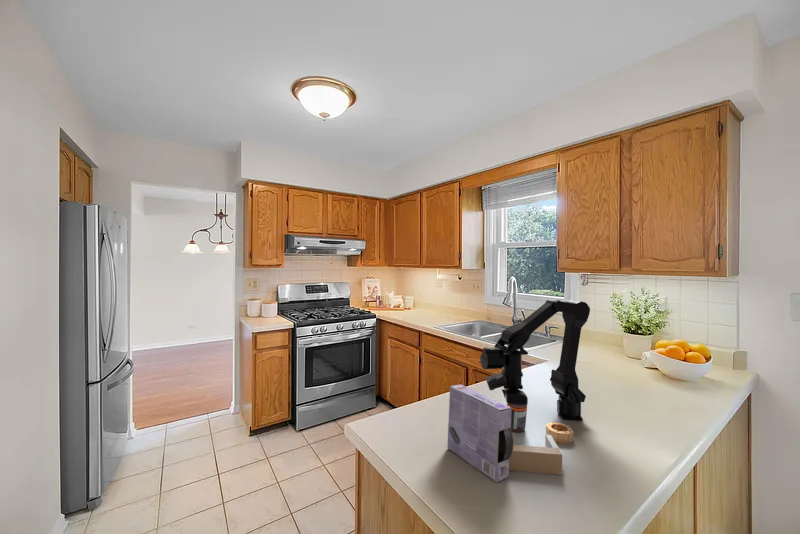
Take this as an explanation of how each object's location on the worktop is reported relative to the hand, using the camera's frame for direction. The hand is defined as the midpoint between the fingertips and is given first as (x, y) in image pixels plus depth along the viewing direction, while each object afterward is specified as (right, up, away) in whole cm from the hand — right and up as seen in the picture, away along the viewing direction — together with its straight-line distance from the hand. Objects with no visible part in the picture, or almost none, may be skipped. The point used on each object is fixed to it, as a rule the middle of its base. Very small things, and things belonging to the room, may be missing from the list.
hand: (512, 414), depth 112 cm
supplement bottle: (-1, -2, -5) cm, 5 cm away
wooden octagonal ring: (+11, -2, -11) cm, 15 cm away
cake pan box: (-17, -2, -24) cm, 29 cm away
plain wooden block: (-3, -2, -21) cm, 22 cm away
